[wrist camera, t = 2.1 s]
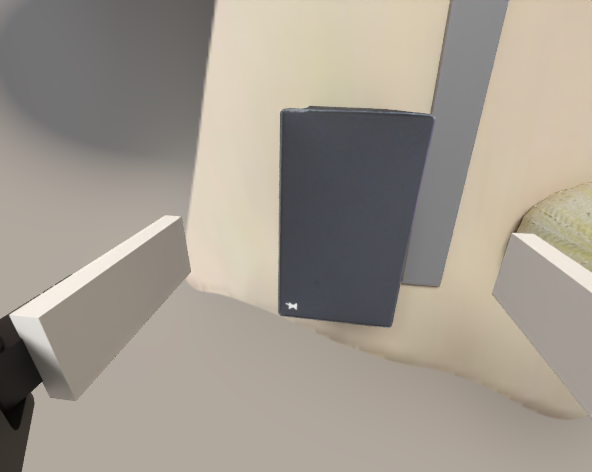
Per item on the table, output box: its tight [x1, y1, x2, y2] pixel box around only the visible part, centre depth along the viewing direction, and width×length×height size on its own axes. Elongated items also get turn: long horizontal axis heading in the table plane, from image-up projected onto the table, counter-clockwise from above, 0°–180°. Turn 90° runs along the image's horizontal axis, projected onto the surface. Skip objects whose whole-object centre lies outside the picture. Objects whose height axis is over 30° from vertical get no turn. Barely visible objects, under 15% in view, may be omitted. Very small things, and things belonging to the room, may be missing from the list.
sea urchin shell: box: [516, 182, 592, 272], centre depth 20 cm, size 9×8×8 cm
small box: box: [278, 106, 436, 328], centre depth 18 cm, size 11×6×10 cm, turn 179°
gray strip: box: [402, 0, 509, 287], centre depth 20 cm, size 3×23×1 cm, turn 0°
